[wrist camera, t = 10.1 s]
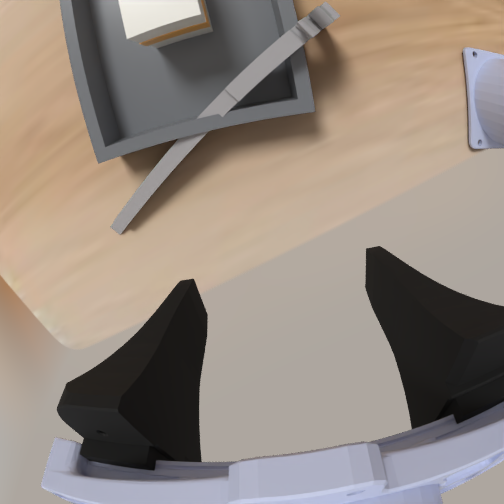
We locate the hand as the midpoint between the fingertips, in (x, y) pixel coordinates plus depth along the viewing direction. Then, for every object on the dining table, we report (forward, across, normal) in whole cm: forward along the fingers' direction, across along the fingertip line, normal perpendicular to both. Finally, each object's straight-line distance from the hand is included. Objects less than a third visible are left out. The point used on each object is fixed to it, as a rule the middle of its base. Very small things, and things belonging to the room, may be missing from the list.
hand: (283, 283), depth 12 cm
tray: (+9, +3, -14) cm, 17 cm away
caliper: (+10, +3, -6) cm, 12 cm away
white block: (+9, +3, -14) cm, 17 cm away
